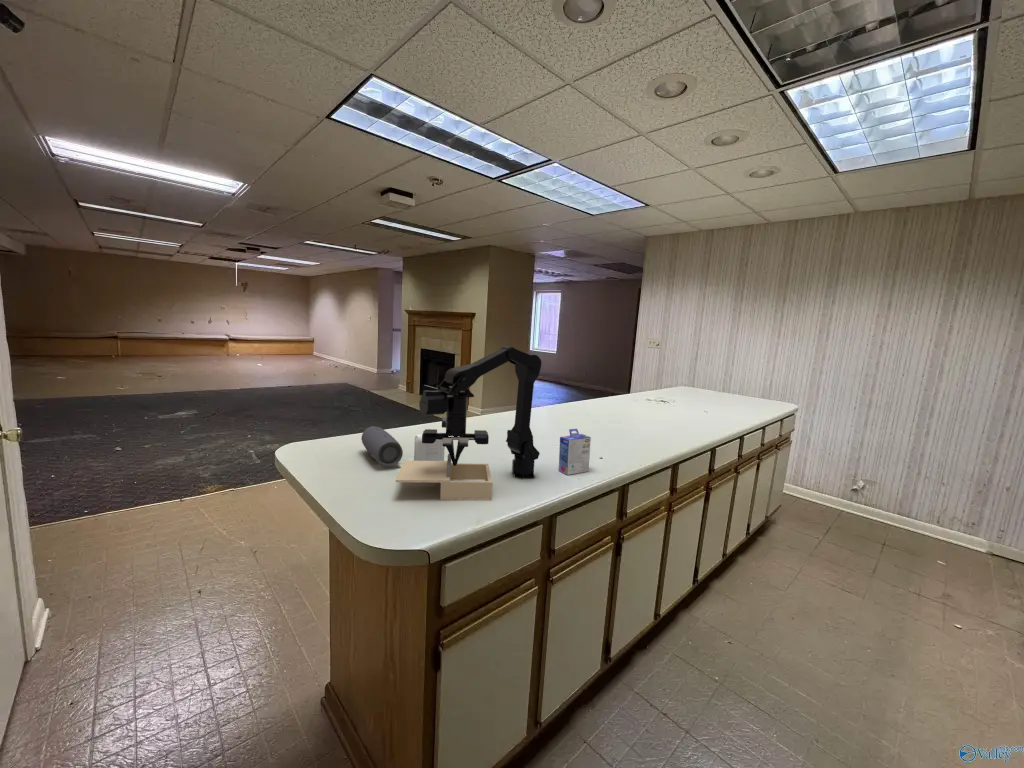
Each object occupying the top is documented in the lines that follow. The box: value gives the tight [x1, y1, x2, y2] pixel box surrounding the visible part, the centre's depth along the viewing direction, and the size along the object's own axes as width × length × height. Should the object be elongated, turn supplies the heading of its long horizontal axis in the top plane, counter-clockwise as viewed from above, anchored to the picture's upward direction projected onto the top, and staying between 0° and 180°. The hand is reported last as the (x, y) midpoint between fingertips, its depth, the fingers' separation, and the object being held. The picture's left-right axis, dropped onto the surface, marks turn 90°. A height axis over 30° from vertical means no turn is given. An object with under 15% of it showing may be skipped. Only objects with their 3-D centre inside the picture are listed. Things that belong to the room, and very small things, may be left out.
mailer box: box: [440, 462, 493, 501], centre depth 122 cm, size 14×16×5 cm
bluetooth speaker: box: [360, 425, 404, 467], centre depth 143 cm, size 23×9×10 cm, turn 32°
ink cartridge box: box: [558, 428, 592, 476], centre depth 141 cm, size 10×6×14 cm, turn 122°
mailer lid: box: [395, 453, 452, 483], centre depth 120 cm, size 14×16×4 cm
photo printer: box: [413, 431, 446, 461], centre depth 137 cm, size 10×4×12 cm, turn 123°
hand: (454, 465), depth 121 cm, fingers closed
